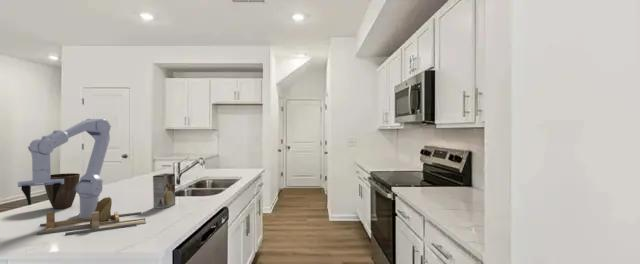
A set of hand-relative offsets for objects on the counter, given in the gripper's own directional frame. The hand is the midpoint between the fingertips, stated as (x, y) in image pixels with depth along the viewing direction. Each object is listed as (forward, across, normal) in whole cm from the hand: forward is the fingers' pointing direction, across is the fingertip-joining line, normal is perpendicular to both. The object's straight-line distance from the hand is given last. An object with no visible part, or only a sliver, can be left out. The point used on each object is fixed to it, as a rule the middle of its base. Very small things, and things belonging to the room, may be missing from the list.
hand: (42, 203), depth 143 cm
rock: (+10, +19, -3) cm, 22 cm away
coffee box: (+10, +48, +14) cm, 51 cm away
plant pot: (+10, +5, +38) cm, 40 cm away
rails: (+10, +17, -6) cm, 21 cm away
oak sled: (+10, +14, -3) cm, 17 cm away
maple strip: (+10, +26, -12) cm, 31 cm away
